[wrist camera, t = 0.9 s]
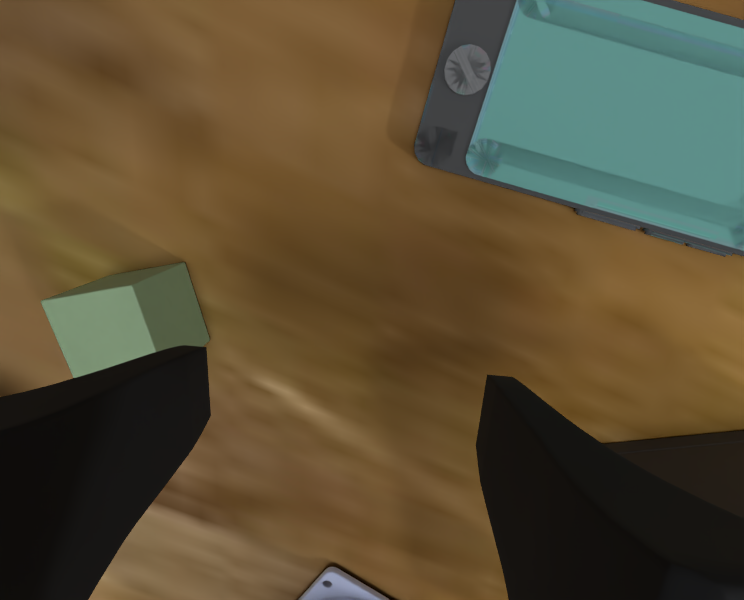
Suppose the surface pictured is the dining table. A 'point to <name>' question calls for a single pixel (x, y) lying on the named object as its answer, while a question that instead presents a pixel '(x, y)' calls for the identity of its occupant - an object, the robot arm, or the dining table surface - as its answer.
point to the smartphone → (598, 111)
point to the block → (126, 317)
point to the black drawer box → (695, 465)
